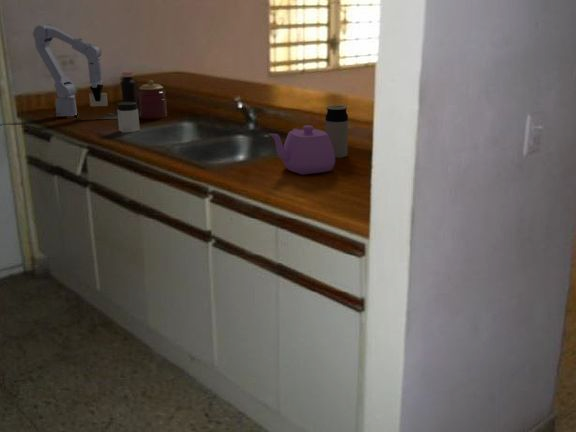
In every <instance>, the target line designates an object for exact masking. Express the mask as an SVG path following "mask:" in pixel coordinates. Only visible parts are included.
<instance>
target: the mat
mask: <svg viewBox="0 0 576 432" xmlns="http://www.w3.org/2000/svg"><path fill="white" fill-rule="evenodd" d="M110 114H111V115H110V116H105V117H104V118H101V119H111V120H118V114H114V113H110Z"/></svg>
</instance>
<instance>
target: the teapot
mask: <svg viewBox="0 0 576 432" xmlns="http://www.w3.org/2000/svg"><path fill="white" fill-rule="evenodd" d="M268 135H269V136H270V137H272V139H273V140H274V143H275V149H276V154H277V156H278V157H279V158H280V159H281V160H282V163H283V164H284V167H285V168H286V169H287V170H289V172H290V171H291V172H292V173H296V174H299V175H301V176H307V175H309V174H311V175H312V174H318V173H319V174H320V173H327V172H331V171H332V170H333V168H334V166H335V164H336V158H335V154H334V149H333V146H332V143H331V141H330V138H329V136H328V134H327V133H326V131H324V130H321V129H318V128H317V129H316V128H314V125H309V124H308V125H303V126H302V129H298V128H293V129H292V130H290V131H289V132H288V134H287V136H286V139H285V142H284V144H283V142H282V139H281V136H280V135H279V134H277V133H268Z"/></svg>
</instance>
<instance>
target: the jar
mask: <svg viewBox="0 0 576 432" xmlns="http://www.w3.org/2000/svg"><path fill="white" fill-rule="evenodd" d="M117 113H118V119H117V122H118V123H117V124H118V130H119V131H120V132H121V133H123V134H124V133H135V132H139V131H140V129H141V128H140V120H139V119H140V117H139V116H140V114H139V109H138V102H137V103H136V102H123V101H122V102H118V103H117Z"/></svg>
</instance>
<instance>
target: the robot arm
mask: <svg viewBox="0 0 576 432" xmlns="http://www.w3.org/2000/svg"><path fill="white" fill-rule="evenodd" d="M32 36H33V37H34V44H35V48H36V51H37V52H38V54H39V55H40V57H41V59H42V61H43V62H44V64H45V66H46V68H47V70H48V72H49V73H50V76H52V78H53V81H54V86H53V87H54V88H55V93H56V96H57V97H58V98H56V99H55V101H54V105H55V112H56V113H55V114H56V117H57V116H74V115H77V113H78V110H77V100H76V94H77V92H78V89H77V86H76V85H75V84H74V83H73V82H72V80H71V79H70V78H68V77H66V75H65V73H64V71H63V69H62V68H61V66H60V64H59V63H58V61H57V58H56V57H55V55H54V53H53V51H52V50H51V49H50V44H51V41H52V40H53V39H58V40H60V41H63V42H64V43H66V44H68V45H70V46H71V48H72V49H73V50H74V51H76V52H78V53H80V54H82V55H84V57H85V58H86V60H87V64H88V65H87V66H88V75H89V76H88V77H89V84H91V85H90V86H89V88H90V89H89V90H91V92H92V93H93V95H94V98H95V101H100V99H101V93H103V92H102V90H103V87H104V83H106V81H105V80H103V75H102V65H101V64H102V63H101V56H102V49H101V48H100V47H99V46H98V45H97V44H94V45H93V44H92V43H91V42H87V41H85V40H84V38H82V37H76V38H74V37H73V36H71V35H69V34H68V33H66V32H65V31H62V30H61V29H59V28H58V27H56V26H53V24H45V25H44V24H43V25H37V26H35V28H34V29H33V31H32Z"/></svg>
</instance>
